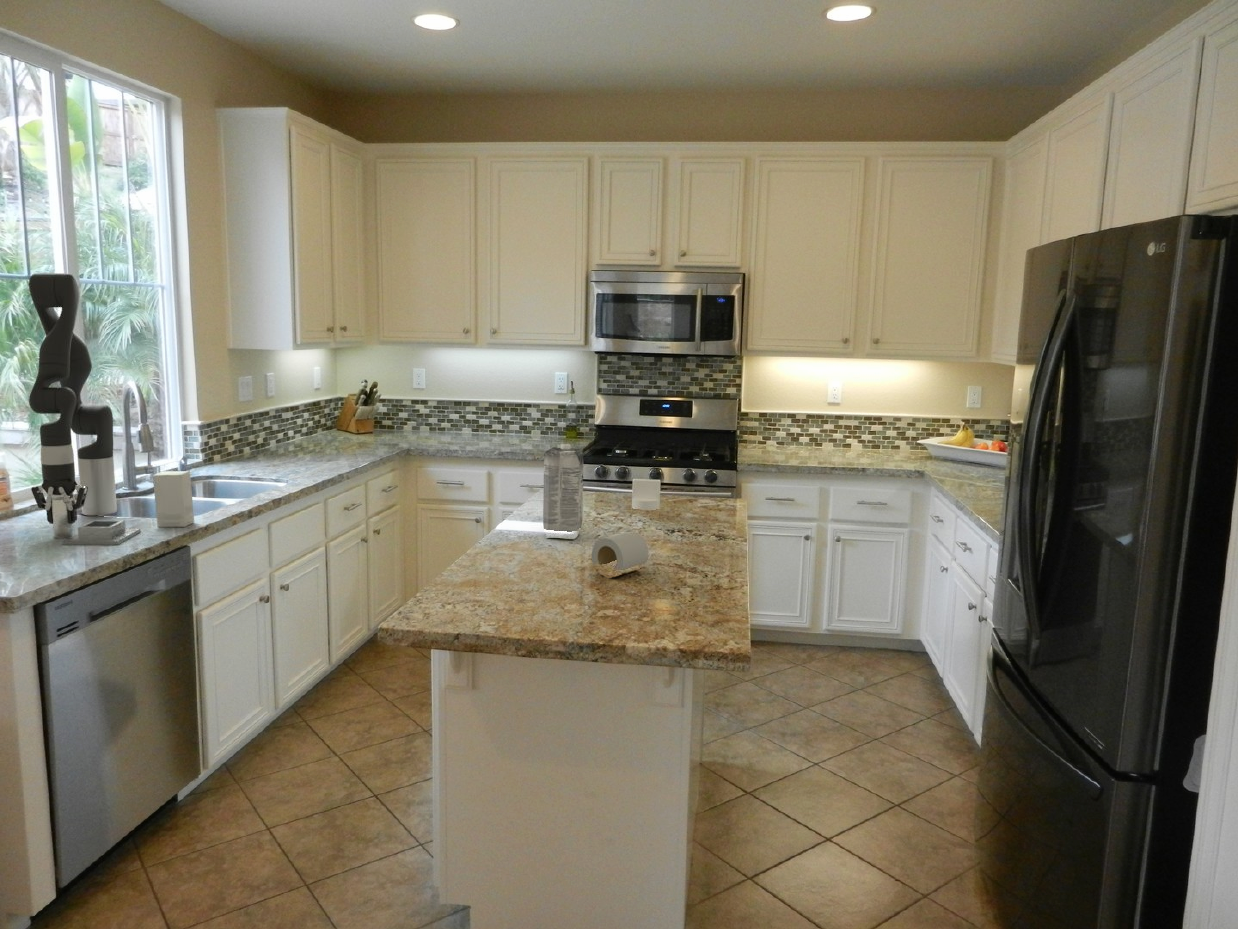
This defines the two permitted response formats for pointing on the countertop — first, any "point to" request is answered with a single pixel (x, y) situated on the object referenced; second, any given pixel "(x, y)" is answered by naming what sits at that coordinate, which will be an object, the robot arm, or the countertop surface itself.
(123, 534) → the duct plate
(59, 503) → the pale grey upright block
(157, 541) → the countertop surface
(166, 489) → the skincare box
